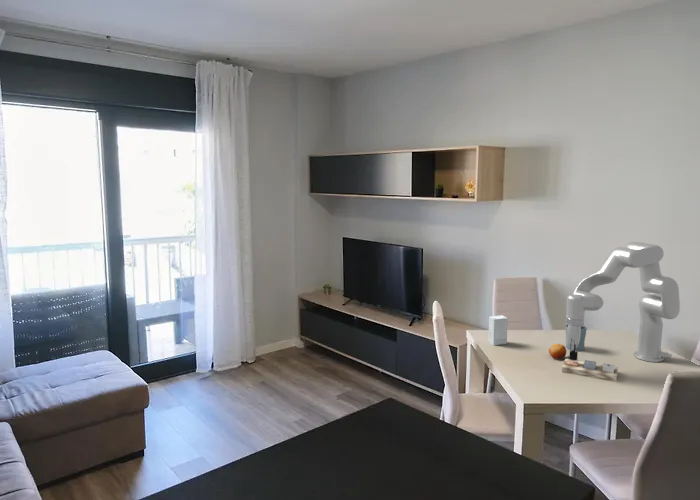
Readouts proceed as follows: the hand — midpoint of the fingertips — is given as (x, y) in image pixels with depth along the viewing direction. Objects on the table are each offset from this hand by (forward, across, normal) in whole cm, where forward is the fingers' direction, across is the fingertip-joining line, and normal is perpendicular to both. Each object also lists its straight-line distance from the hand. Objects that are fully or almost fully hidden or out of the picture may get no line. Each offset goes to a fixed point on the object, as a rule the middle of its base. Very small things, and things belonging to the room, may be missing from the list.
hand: (573, 359), depth 227 cm
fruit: (+5, -12, -8) cm, 16 cm away
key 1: (+3, 0, +15) cm, 15 cm away
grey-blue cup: (+5, -31, -2) cm, 32 cm away
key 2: (+2, 0, +7) cm, 7 cm away
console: (+5, 0, +7) cm, 8 cm away
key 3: (+4, 0, 0) cm, 4 cm away
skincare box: (+5, -19, -40) cm, 44 cm away
